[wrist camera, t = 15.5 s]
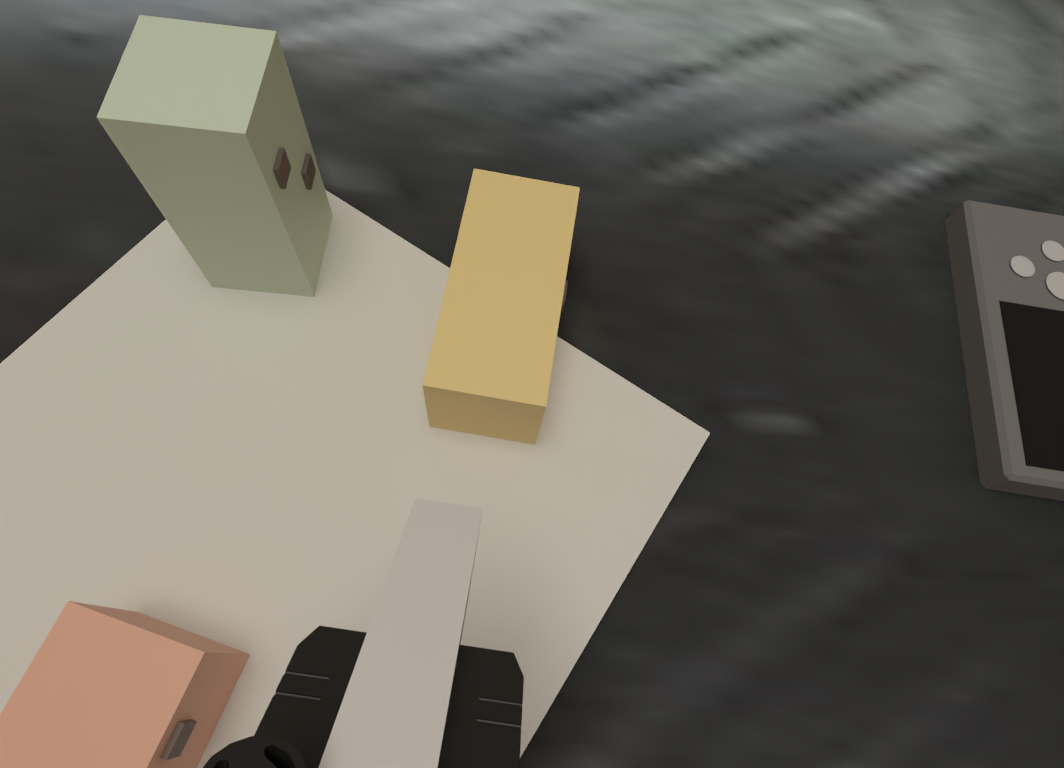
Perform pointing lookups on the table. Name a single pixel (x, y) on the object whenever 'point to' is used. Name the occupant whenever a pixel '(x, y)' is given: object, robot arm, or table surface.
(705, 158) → the table surface
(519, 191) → the domino block
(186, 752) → the domino block
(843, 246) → the table surface
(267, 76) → the domino block
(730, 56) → the table surface
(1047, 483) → the electronic device
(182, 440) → the mat
